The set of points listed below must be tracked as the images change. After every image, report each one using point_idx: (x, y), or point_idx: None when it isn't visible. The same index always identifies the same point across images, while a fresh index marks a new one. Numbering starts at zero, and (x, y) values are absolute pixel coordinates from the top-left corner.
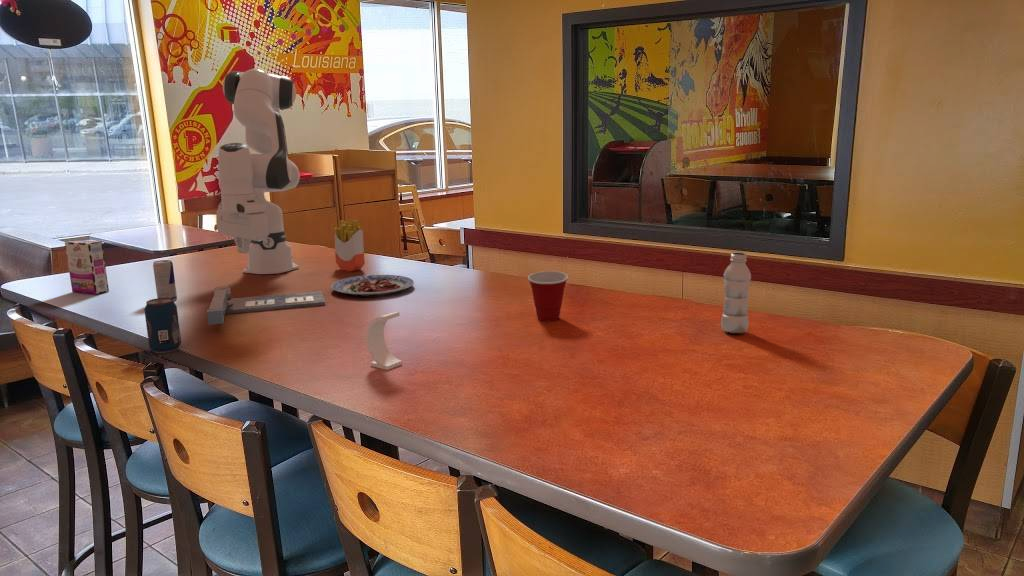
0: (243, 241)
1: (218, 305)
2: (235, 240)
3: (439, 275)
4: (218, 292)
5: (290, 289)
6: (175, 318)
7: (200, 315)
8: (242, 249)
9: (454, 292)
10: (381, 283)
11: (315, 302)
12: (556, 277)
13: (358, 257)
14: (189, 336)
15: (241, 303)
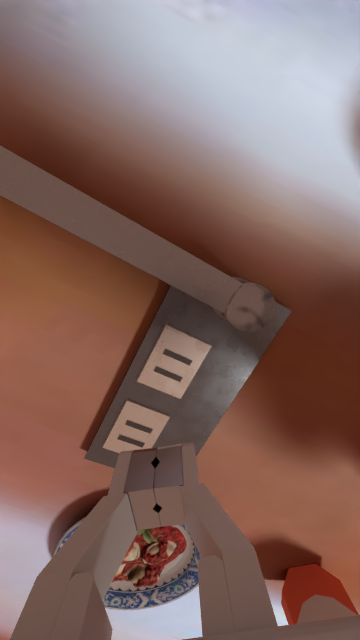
0: (48, 585)
1: (5, 183)
2: (222, 548)
3: (145, 634)
4: (200, 273)
5: (263, 457)
6: None
7: (211, 223)
8: (124, 474)
9: (18, 610)
10: (137, 570)
11: (93, 444)
12: None
13: (290, 621)
14: (14, 93)
15: (210, 334)
